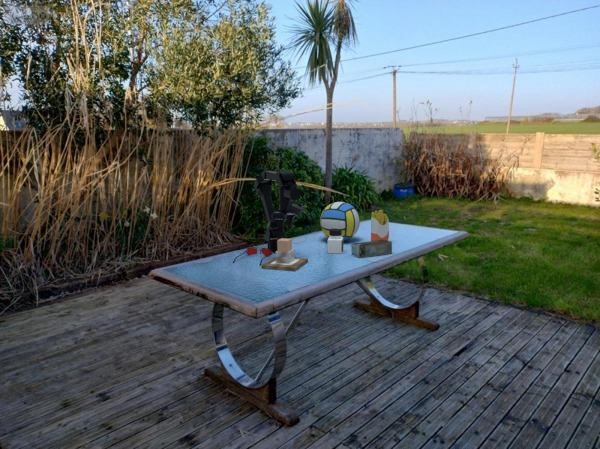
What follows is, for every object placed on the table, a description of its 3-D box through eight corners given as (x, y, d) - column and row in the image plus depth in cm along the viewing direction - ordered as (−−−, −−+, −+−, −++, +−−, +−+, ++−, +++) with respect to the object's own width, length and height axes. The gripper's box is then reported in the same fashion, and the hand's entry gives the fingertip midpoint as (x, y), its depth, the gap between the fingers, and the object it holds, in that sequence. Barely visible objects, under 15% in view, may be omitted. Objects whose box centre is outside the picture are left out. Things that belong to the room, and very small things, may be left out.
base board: (261, 268, 187) (260, 253, 185) (276, 259, 201) (275, 245, 200) (295, 271, 181) (295, 255, 180) (308, 261, 196) (307, 247, 195)
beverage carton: (350, 255, 208) (350, 241, 206) (383, 250, 215) (383, 238, 214) (359, 258, 200) (359, 245, 199) (392, 254, 208) (393, 241, 207)
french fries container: (389, 242, 233) (389, 210, 229) (377, 245, 225) (378, 212, 222) (382, 241, 236) (382, 209, 233) (370, 244, 228) (370, 211, 225)
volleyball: (365, 238, 243) (366, 200, 240) (348, 246, 225) (348, 205, 222) (332, 235, 255) (331, 199, 251) (313, 242, 237) (312, 203, 233)
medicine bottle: (341, 253, 209) (341, 230, 207) (327, 253, 211) (327, 229, 209) (343, 250, 216) (343, 227, 214) (329, 250, 218) (329, 227, 216)
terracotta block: (277, 251, 189) (277, 240, 188) (281, 249, 193) (281, 238, 192) (288, 252, 187) (287, 241, 186) (292, 249, 191) (291, 238, 191)
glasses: (273, 257, 207) (272, 247, 206) (260, 266, 192) (259, 255, 191) (246, 256, 211) (246, 246, 210) (232, 264, 196) (231, 254, 195)
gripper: (293, 201, 189) (294, 235, 192) (307, 196, 206) (308, 228, 209) (270, 200, 193) (271, 234, 196) (286, 196, 210) (287, 227, 213)
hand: (285, 230), depth 203 cm, fingers open, 9 cm apart
